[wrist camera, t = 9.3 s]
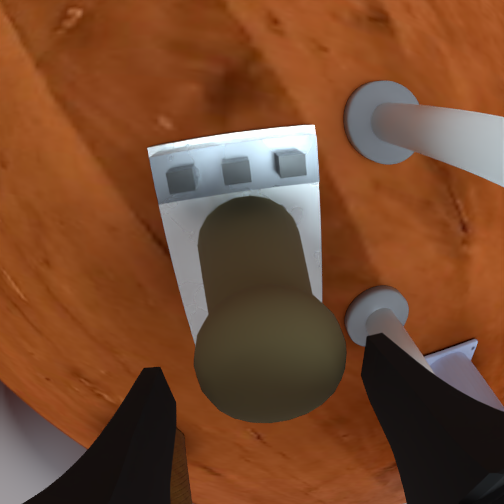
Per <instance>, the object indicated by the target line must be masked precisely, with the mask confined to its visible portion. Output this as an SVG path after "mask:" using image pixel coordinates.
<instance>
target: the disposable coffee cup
mask: <svg viewBox="0 0 504 504" xmlns="http://www.w3.org/2000/svg"><path fill="white" fill-rule="evenodd" d="M170 500H171V504H192V499H191V491H190V483H189V475H188V467H187V458H186V448H185V438H184V435H183V434H182V433H181V432H180V431H179V430H178V429H177V428H176V435H175V444H174V453H173V462H172V471H171V482H170Z"/></svg>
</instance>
